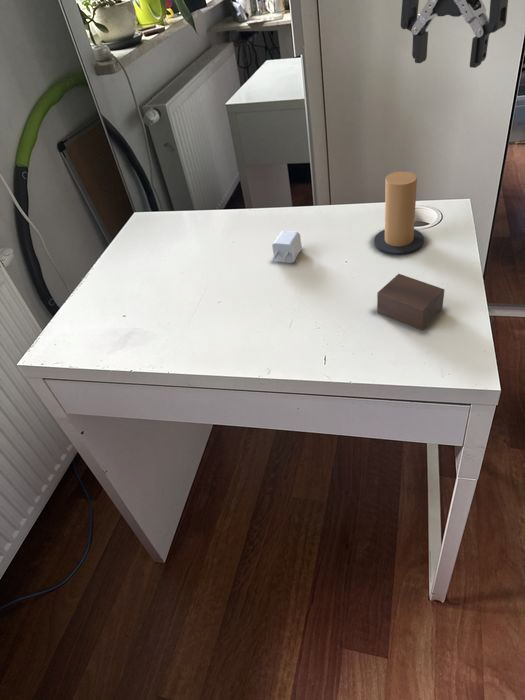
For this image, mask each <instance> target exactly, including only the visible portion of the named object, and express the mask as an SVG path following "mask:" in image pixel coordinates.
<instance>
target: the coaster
mask: <svg viewBox="0 0 525 700" xmlns="http://www.w3.org/2000/svg"><path fill="white" fill-rule="evenodd" d="M424 243H425V237H424V235H423V233H421V232H420V231H419V230H417V229H415V228H414V239H413V241H412V242H411V243H410V244H408V245H406V246H400V247H397V246H391V245H389V244H387V243H386V242H385V229H383V230H381V231H379V232H378V233H377V234H376V235H375V236H374V238H373V245H374V247H375V249H376V250H377V251H379V252H381V253H383V254H386V255H389V256H390V255H391V256H406V255H410V254H414V253H415V252H417V251H419V250H420V249H421V248H422V247H423V245H424Z"/></svg>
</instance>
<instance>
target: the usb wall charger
mask: <svg viewBox="0 0 525 700" xmlns="http://www.w3.org/2000/svg"><path fill="white" fill-rule="evenodd" d="M271 247H272V253H273V257H272V262H275V261H276V262H277V263H283V264H284V263H289V264H291V263H292V264H293V263H294V261H295V260H296V258H297V257H298V255H299V253H300V252H301V250H302V239H301V233H299V232H298V231H288V230H282V231H280V232H279V234H278V235H277V237H276V238H275V240H274V241H273V243H272V245H271Z"/></svg>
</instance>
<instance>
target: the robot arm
mask: <svg viewBox="0 0 525 700" xmlns="http://www.w3.org/2000/svg"><path fill="white" fill-rule="evenodd" d="M419 4H420V0H402V1H401V14H400V28H401V29H402V30H408V31H409V32H411V34H412V50H411V55H412V59H414V63H415V64H422V63H423V62H425V61H426V60H427V58H428V57H427V56H428V41H429V31H427V29H429V26H430V25H431V24H432V22H433V20H434V19H435V18H436V17H446V16H450V17H452V18H453V17H454V18H459V17H461V16H462V17H463V20H464V21H465V23H466V24H468V25H469V26H470V28H471V30H472V32H473V34H474V37H472V39H471V40H472V41H471V50H470V59H469V68H472V69H476V68H478V67H479V66H481V65H482V63H483V62H484V61H485V60H486V58H487V54H488V53H487V52H488V46H489V38H490V35H491V34H492V33H496V32H497V31H499V30H500V29H502V28H504V27H505V26H506V24H507V19H508V18H507V17H508V7H509V0H490V1H489V12H488V13H489V15H487V8H486V7H485V4H484V3H483V0H427V1H426V2H425V4H424V6H423V7H422V9H421V11H420V12H419Z"/></svg>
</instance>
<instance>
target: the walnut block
mask: <svg viewBox="0 0 525 700" xmlns="http://www.w3.org/2000/svg"><path fill="white" fill-rule="evenodd" d="M376 293H377V294H376V295H377V297H376V298H377V300H376V303H377V305H376V312H377V314H380V315H382V316H384V317H387V318H390V319H392V320H394V321H398V322H399V323H402V324H405V325H407V326H409V327H412V328H414V329H416V330H420V331H423V330H424V329H426V327H427V326H428V325H430V323H431V322H432V321H433V320H434V319H435V318H436V317H437V316H438V315H439V314H440V313H441V312H443V306H444V298H445V289H444V288H442V287H439V286H436V285H433V284H430V283H427V282H425V281H421V280H419V279H416V278H413V277H410V276H407V275H404V274H401V273H398V274H397V275H395V276H394V277H393V278H392V279H391V280H389V282H387V284H385V285H384V286H383V287H381V289H379V291H377V292H376Z"/></svg>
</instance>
